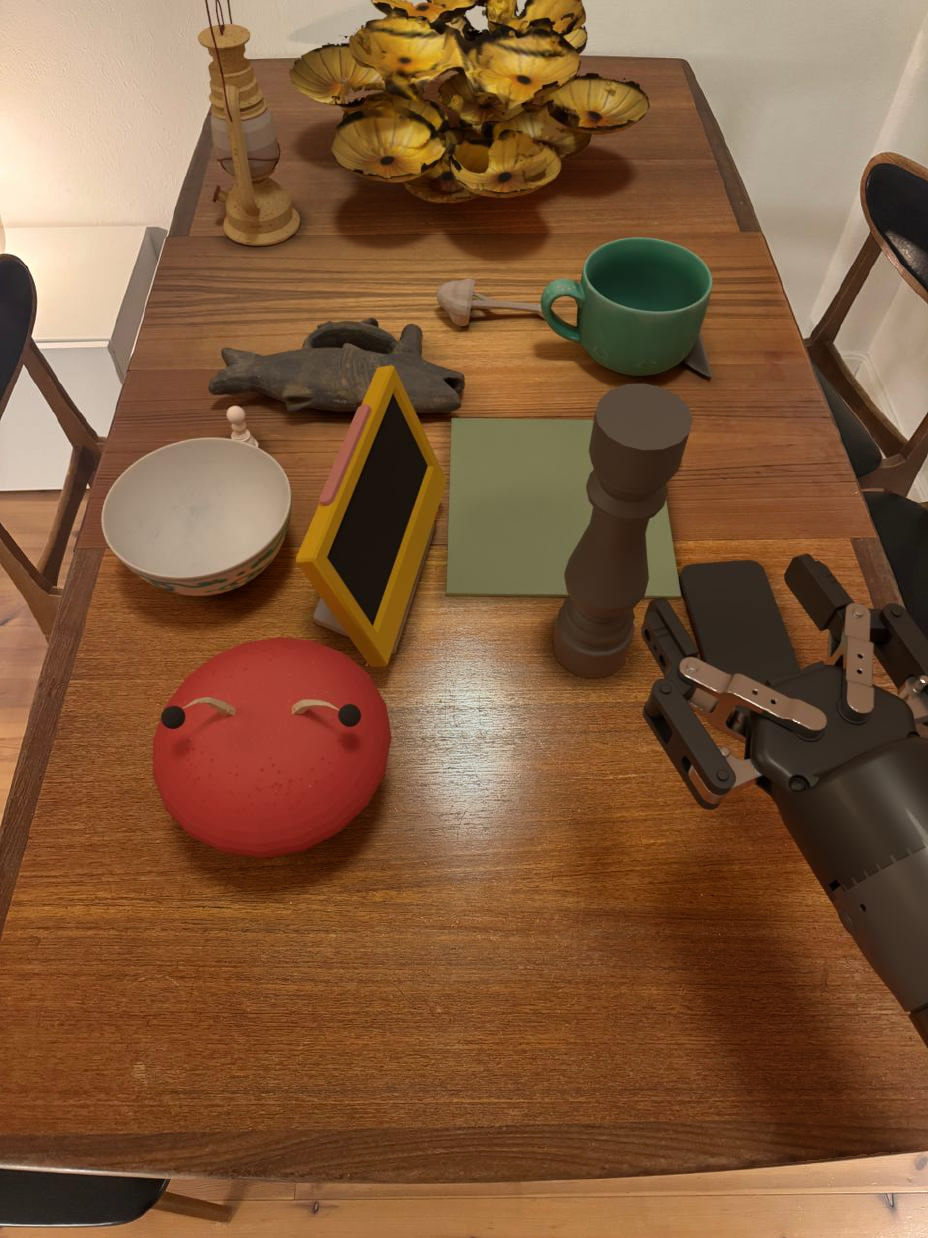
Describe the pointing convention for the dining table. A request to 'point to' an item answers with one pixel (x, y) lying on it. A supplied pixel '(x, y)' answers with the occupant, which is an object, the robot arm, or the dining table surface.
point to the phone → (738, 620)
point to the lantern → (245, 141)
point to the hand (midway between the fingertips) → (724, 585)
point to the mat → (529, 509)
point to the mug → (635, 304)
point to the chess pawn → (239, 426)
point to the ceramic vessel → (341, 370)
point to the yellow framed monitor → (374, 522)
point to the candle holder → (618, 524)
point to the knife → (698, 358)
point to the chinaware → (199, 515)
